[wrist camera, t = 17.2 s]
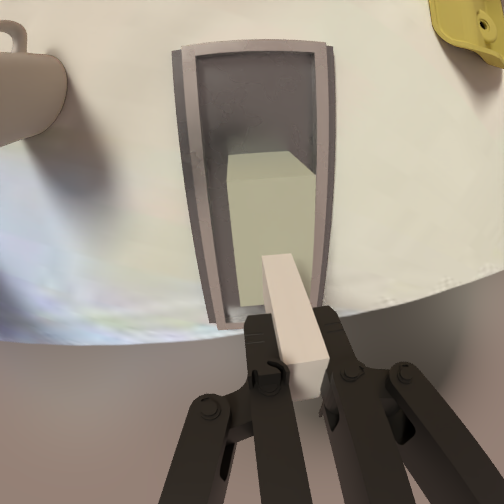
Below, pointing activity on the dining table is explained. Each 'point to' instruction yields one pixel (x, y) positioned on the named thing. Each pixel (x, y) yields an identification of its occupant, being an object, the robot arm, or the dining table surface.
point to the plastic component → (471, 26)
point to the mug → (28, 88)
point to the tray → (251, 145)
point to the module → (270, 216)
